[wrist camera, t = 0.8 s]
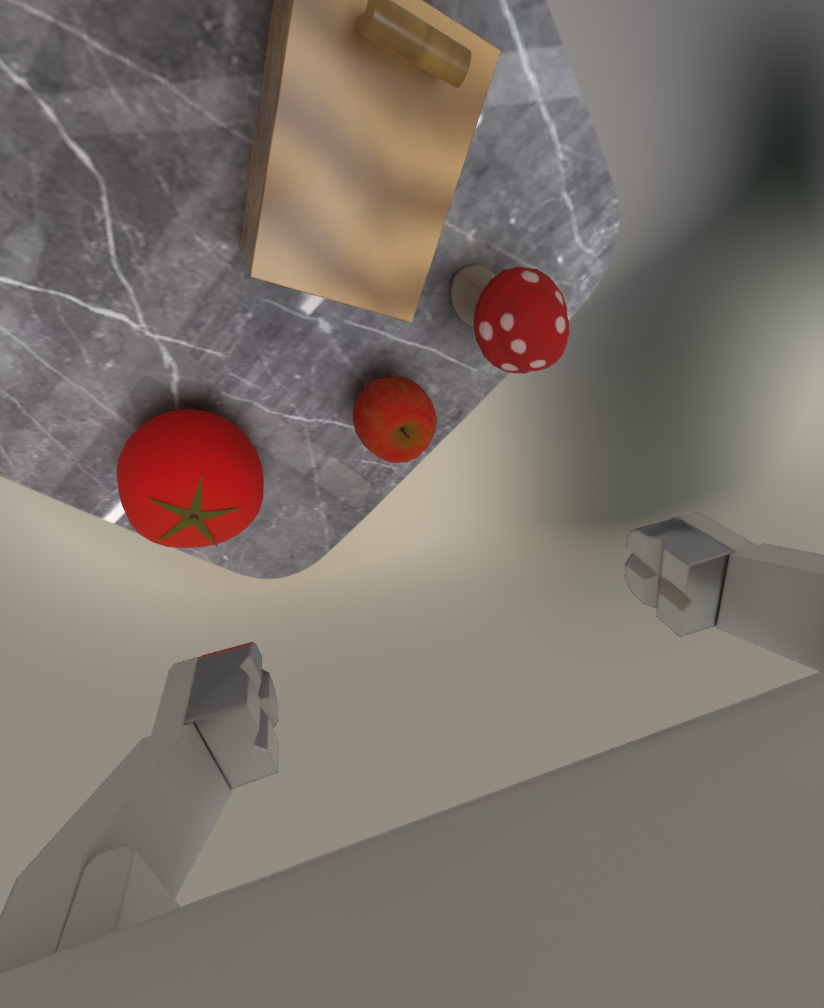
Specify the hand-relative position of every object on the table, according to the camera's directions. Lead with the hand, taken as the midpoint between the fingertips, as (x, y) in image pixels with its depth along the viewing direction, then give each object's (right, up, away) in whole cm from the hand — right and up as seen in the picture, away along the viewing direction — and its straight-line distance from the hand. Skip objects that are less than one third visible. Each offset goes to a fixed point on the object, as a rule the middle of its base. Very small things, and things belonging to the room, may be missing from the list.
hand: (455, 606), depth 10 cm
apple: (-5, +15, +44) cm, 47 cm away
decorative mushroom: (+5, +25, +41) cm, 48 cm away
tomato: (-24, +8, +41) cm, 48 cm away
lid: (-4, +25, +23) cm, 34 cm away
